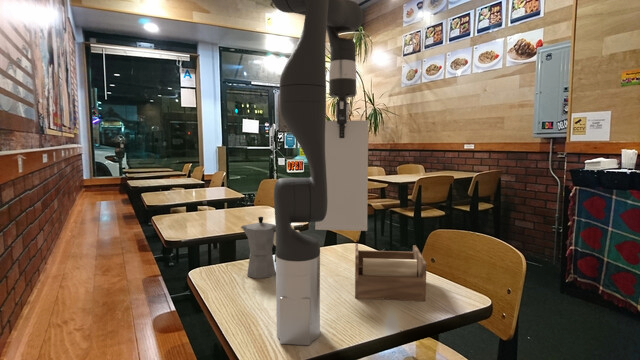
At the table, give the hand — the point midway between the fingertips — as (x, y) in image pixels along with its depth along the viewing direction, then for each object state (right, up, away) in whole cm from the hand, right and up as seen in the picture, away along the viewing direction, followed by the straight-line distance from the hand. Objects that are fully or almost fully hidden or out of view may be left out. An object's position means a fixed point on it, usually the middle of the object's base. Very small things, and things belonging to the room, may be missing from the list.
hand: (342, 140), depth 101 cm
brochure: (0, -25, -1) cm, 25 cm away
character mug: (-19, -40, +19) cm, 48 cm away
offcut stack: (+12, -42, -5) cm, 44 cm away
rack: (+13, -41, -1) cm, 43 cm away
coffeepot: (-23, -41, +10) cm, 48 cm away
